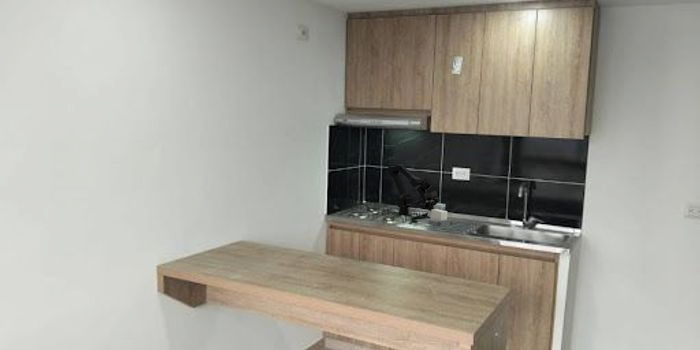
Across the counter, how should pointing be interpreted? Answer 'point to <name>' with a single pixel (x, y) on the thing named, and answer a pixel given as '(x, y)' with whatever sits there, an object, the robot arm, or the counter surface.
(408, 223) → the counter surface
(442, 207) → the light bulb box
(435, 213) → the white rectangular block
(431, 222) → the socket board
